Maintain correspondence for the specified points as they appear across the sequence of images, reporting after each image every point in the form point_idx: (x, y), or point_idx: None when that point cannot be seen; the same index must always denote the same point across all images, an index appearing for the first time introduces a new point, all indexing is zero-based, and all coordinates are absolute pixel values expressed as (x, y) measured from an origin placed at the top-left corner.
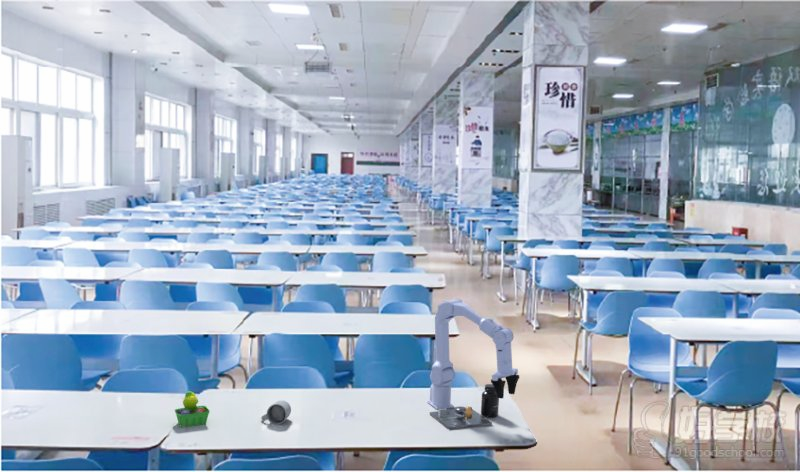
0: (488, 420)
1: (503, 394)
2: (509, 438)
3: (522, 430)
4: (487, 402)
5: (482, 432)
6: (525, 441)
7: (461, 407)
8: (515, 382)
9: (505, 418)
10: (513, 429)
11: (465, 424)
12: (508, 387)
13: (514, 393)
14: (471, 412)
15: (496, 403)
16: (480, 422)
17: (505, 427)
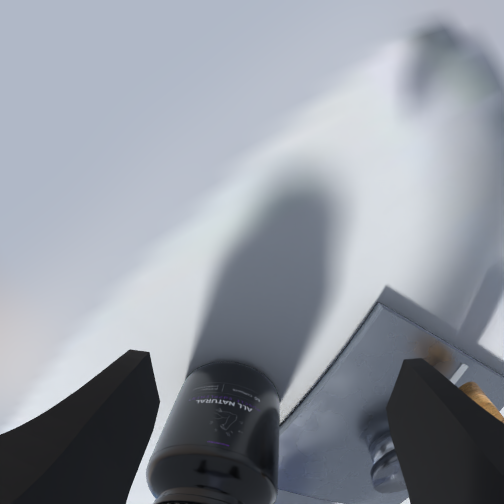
0: (357, 346)
1: (430, 383)
2: (483, 114)
3: (327, 108)
4: (276, 455)
5: (493, 271)
6: (455, 31)
7: (387, 482)
8: (45, 459)
9: (201, 313)
10: (353, 161)
11: (473, 375)
12: (135, 465)
13: (126, 352)
14: (484, 402)
15: (224, 417)
16: (414, 353)
17: (356, 221)
